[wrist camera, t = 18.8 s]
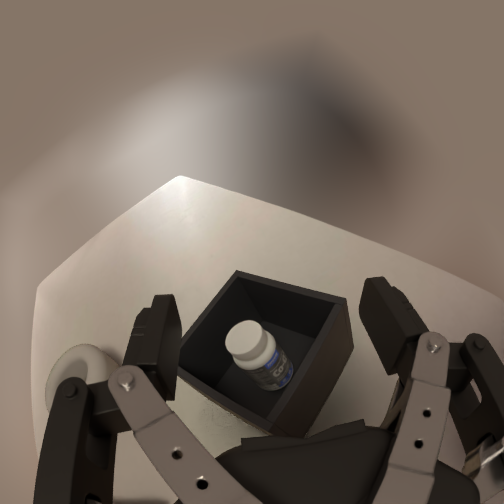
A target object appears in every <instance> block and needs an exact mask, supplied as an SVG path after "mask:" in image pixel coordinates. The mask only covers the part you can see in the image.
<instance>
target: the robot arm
mask: <svg viewBox="0 0 504 504" xmlns="http://www.w3.org/2000/svg"><path fill="white" fill-rule="evenodd" d="M359 315H360V319H361V321H362V323H363V325H364V327H365V329H366V331H367V333H368V335H369V337H370V339H371V341H372V343H373V345H374V347H375V349H376V351H377V353H378V356H379V358H380V360H381V362H382V364H383V366H384V368H385V371H386V373H387V375H388V376H389V375H392V374H396V373H397V374H398V376H399V378H398V380H397V383H396V386H395V390H394V393H393V396H392V399H391V402H390V405H389V408H388V411H387V414H386V416H385V418H384V420H383V422H382V424H381V426H380V428H379V427H374V426H366V425H365V422H364V419H361V420H357V421H353V422H349V423H344V424H340V425H335V426H333V427H331V428H329V429H327V430H325V431H322V432H320V433H318V434H315V435H313V436H311V437H308V438H294V437H282V436H263V437H252V438H241V444H242V445H241V446H238V447H235V448H232V449H230V450H228V451H226V452H224V453H222V454H221V455H219V456H218V457H216V458H214V457H213V456H212V455H211V454H210V453H209V452H208V451H207V450H206V449H205V447H204V446H203V445H202V444H201V443H200V442H199V441H198V440H197V438H196V437H195V436H194V435H193V434H192V433H191V431H190V430H189V429H188V428H187V427H186V425H185V424H184V423H183V422H182V421H181V419H180V418H179V417H178V416H177V414H176V413H175V412H174V411H172V410H171V409H170V408H169V407H168V405H167V404H166V400H168V401H174V400H175V390H176V380H177V371H178V362H179V354H180V346H181V338H182V326H181V320H180V317H179V313H178V309H177V305H176V301H175V297H174V295H173V294H167V295H155V296H154V299H153V302H152V306H151V308H143V309H142V311H141V312H140V313H139V314H138V315H137V317H136V320H135V323H134V326H133V327H134V328H133V329H132V333H131V336H130V339H129V343H128V346H127V350H126V353H125V357H124V360H123V364H122V367H119V368H117V369H116V370H115V371H113V373H112V374H111V375H110V377H109V379H108V380H105V381H102V382H97V383H92V384H88V385H87V384H86V382H85V381H84V380H83V379H81V378H79V377H69V378H67V379H65V380H63V381H62V382H61V383H60V384H59V385H58V387H57V389H56V392H55V396H54V399H53V403H52V406H51V410H50V414H49V418H48V422H47V426H46V430H45V434H44V439H43V443H42V448H41V453H40V458H39V464H38V470H37V476H36V483H35V491H34V500H33V504H113V481H114V465H115V453H116V443H117V433H120V432H125V431H130V430H133V432H134V433H133V435H134V437H135V439H136V440H137V442H138V443H139V445H140V446H141V448H142V449H143V451H144V452H145V454H146V455H147V457H148V458H149V460H150V461H151V463H152V464H153V465H154V467H155V468H156V470H157V471H158V472H159V474H160V475H161V476H162V478H163V479H164V480H165V482H166V483H167V484H168V485H169V487H170V488H171V489H172V490H173V492H174V493H175V494H176V495H177V497H178V498H179V499H178V500H177V501H176V502H175V503H174V504H482V503H484V502H485V501H487V500H488V499H490V498H491V497H493V496H494V495H496V494H497V493H499V492H500V491H502V490H504V365H503V363H502V362H501V360H500V358H499V357H498V355H497V354H496V352H495V350H494V349H493V347H492V346H491V344H490V343H489V341H488V340H487V339H486V338H485V337H484V336H482V335H480V334H476V333H472V334H469V335H468V336H467V337H466V339H465V341H464V342H463V343H449V342H448V341H447V339H446V338H445V337H444V336H442V335H441V334H439V333H436V332H430V331H429V330H428V328H427V327H426V325H425V324H424V322H423V321H422V319H421V318H420V316H419V315H418V313H417V312H416V310H415V309H413V306H412V305H411V303H409V300H408V299H407V298H406V296H405V295H404V293H402V292H401V291H400V290H398V289H397V288H396V287H394V286H393V287H391V286H390V284H389V283H388V282H387V280H386V279H385V278H384V277H383V276H381V277H373V278H367V279H366V280H365V283H364V287H363V292H362V296H361V300H360V304H359ZM472 379H474V381H475V383H476V385H477V387H478V389H479V391H480V393H481V396H482V400H481V403H480V402H479V400H478V398H477V396H476V394H475V392H474V389H473V387H472V386H471V384H470V382H471V381H472ZM448 409H449V412H450V414H451V416H452V419H453V421H454V424H455V426H456V429H457V431H458V434H459V437H460V439H461V442H462V445H463V447H464V450H465V453H466V459H465V465H464V466H463V468H462V473H461V472H459V471H457V470H455V469H453V468H452V467H450V466H448V465H446V464H445V463H443V462H441V461H439V460H438V459H437V458H438V454H439V450H440V447H441V442H442V438H443V434H444V429H445V424H446V419H447V414H448Z"/></svg>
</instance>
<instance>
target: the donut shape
mask: <svg viewBox="0 0 504 504" xmlns="http://www.w3.org/2000/svg"><path fill="white" fill-rule="evenodd" d="M117 368H119V365H118V364H117V363H116V362H115V361H114V360H113V359H111V358H110V357H109V356H108V355H106V354H105V353H104V352H103V351H102V350H100V349H99V348H98V347H96V346H94V345H91V344H80V345H76V346H74V347H72V348H70V349H69V350H67V351H66V352H65V353H64V354H63V355H62V356H61V357H60V358H59V359H58V360H57V362H56V363H55V364H54V366H53V368H52V370H51V372H50V374H49V376H48V379H47V383H46V388H45V403H46V407H47V410H48V412H49V414H50V410H51V406H52V403H53V399H54V396H55V392H56V389H57V387H58V385H59V384H60V383H61V382H62V381H63V380H65V379H67V378H69V377H79V378H81V379H83V380H84V381H86V384H87V385H88V384H92V383H97V382H102V381H105V380H108V379H109V377H110V375H111V374H112V373H113V371H115V370H116V369H117Z"/></svg>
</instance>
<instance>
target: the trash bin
mask: <svg viewBox="0 0 504 504" xmlns="http://www.w3.org/2000/svg"><path fill="white" fill-rule="evenodd" d="M247 320H251V321H255V322H257V323H259V324H260V325H261V327H262V328H263V329H264V330H265V331H267V332H269V333H270V334H271V335H272V336H273V337H274V338H275V340H276V341H277V343H278V344H279V346H280V347H281V348H282V350H283V351H284V353H285V354H286V355H287V357H288V358H289V359H290V361H291V362H292V365H293V375H292V377H291V379H290V381H289V382H288V383H287V384H286V385H285V386H284V387H282V388H280V389H278V390H273V391H268V390H264V389H262V388H261V387H259V386H258V385H257V384H256V383H255V382H254V381H253V380H252V379H251V378H250V377H249V376H248V375H247V374H246V373H245V372H244V371H243V370H242V369H241V368H239V366H238V365H237V364H236V363H235V361H234V359H233V355H232V354H231V353H230V352H229V351H228V350H227V348H226V345H225V341H226V337H227V334H228V333H229V331H230V330H231V329H232V328H233V327H234V326H235V325H237V324H238V323H240V322H243V321H247ZM353 349H354V344H353V338H352V331H351V325H350V318H349V312H348V306H347V301H346V298H342V297H338V296H334V295H330V294H326V293H322V292H318V291H314V290H310V289H306V288H303V287H299V286H295V285H291V284H287V283H283V282H279V281H275V280H272V279H268V278H264V277H260V276H257V275H253V274H249V273H245V272H242V271H238V270H236V271H235V272H234V274H233V275H232V276H231V277H230V279H229V280H228V281H227V282H226V284H225V285H224V286H223V287H222V289H221V290H220V291H219V292H218V294H217V295H216V296H215V297H214V299H213V300H212V301H211V302H210V304H209V305H208V306H207V307H206V309H205V310H204V311H203V312H202V314H201V315H200V316H199V317H198V319H197V320H196V321H195V322H194V324H193V325H192V326H191V327H190V329H189V330H188V331H187V332H186V334H185V335H184V336H183V337H182V339H181V346H180V354H179V362H178V371H177V376H179V377H180V378H181V379H182V380H184V381H185V382H186V383H188V384H189V385H190V386H191V387H193V388H194V389H195V390H197V391H198V392H199V393H201V394H202V395H204V396H205V397H206V398H208V399H209V400H211V401H212V402H214V403H215V404H217V405H218V406H220V407H222V408H223V409H225V410H226V411H228V412H230V413H231V414H233V415H234V416H236V417H238V418H239V419H241V420H243V421H244V422H246V423H248V424H249V425H251V426H253V427H255V428H256V429H258V430H260V431H262V432H263V433H265V434H267V435H269V436H282V437H294V438H304V437H305V435H306V434H307V432H308V431H309V429H310V427H311V426H312V424H313V422H314V421H315V419H316V417H317V416H318V414H319V412H320V411H321V409H322V407H323V406H324V404H325V402H326V400H327V399H328V397H329V395H330V393H331V391H332V390H333V388H334V386H335V384H336V382H337V380H338V378H339V377H340V375H341V373H342V371H343V369H344V367H345V365H346V363H347V361H348V359H349V357H350V355H351V353H352V351H353Z"/></svg>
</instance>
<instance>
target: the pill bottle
mask: <svg viewBox="0 0 504 504" xmlns="http://www.w3.org/2000/svg"><path fill="white" fill-rule="evenodd" d="M225 345H226V348H227V350H228V351H229V352H230V353H231V354H232V355H233V359H234V361H235V363H236V364H237V365H238V366H239V368H241V369H242V370H243V371H244V372H245V373H246V374H247V375H248V376H249V377H250V378H251V379H252V380H253V381H254V382H255V383H256V384H257V385H258V386H259V387H261V388H262V389H264V390H268V391H273V390H278V389H280V388H282V387H284V386H285V385H286V384H287V383H288V382H289V381H290V379H291V377H292V375H293V365H292V362H291V361H290V359H289V358H288V357H287V355H286V354H285V353H284V351H283V350H282V348H281V347H280V346H279V344H278V343H277V341H276V340H275V338H274V337H273V336H272V335H271V334H270V333H269V332H267V331H265V330H264V329H263V328H262V327H261V325H260V324H259V323H257V322H255V321H251V320H247V321H243V322H240V323H238V324H237V325H235V326H234V327H233V328H232V329H231V330H230V331H229V333H228V334H227V337H226V341H225Z"/></svg>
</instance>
